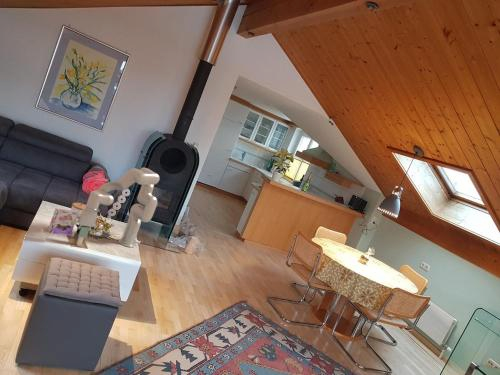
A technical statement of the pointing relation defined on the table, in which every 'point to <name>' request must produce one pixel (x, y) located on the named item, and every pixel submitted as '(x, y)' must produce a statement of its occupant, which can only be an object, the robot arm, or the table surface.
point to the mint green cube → (84, 231)
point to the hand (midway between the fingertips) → (82, 234)
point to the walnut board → (74, 240)
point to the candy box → (62, 221)
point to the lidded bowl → (78, 208)
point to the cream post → (79, 241)
